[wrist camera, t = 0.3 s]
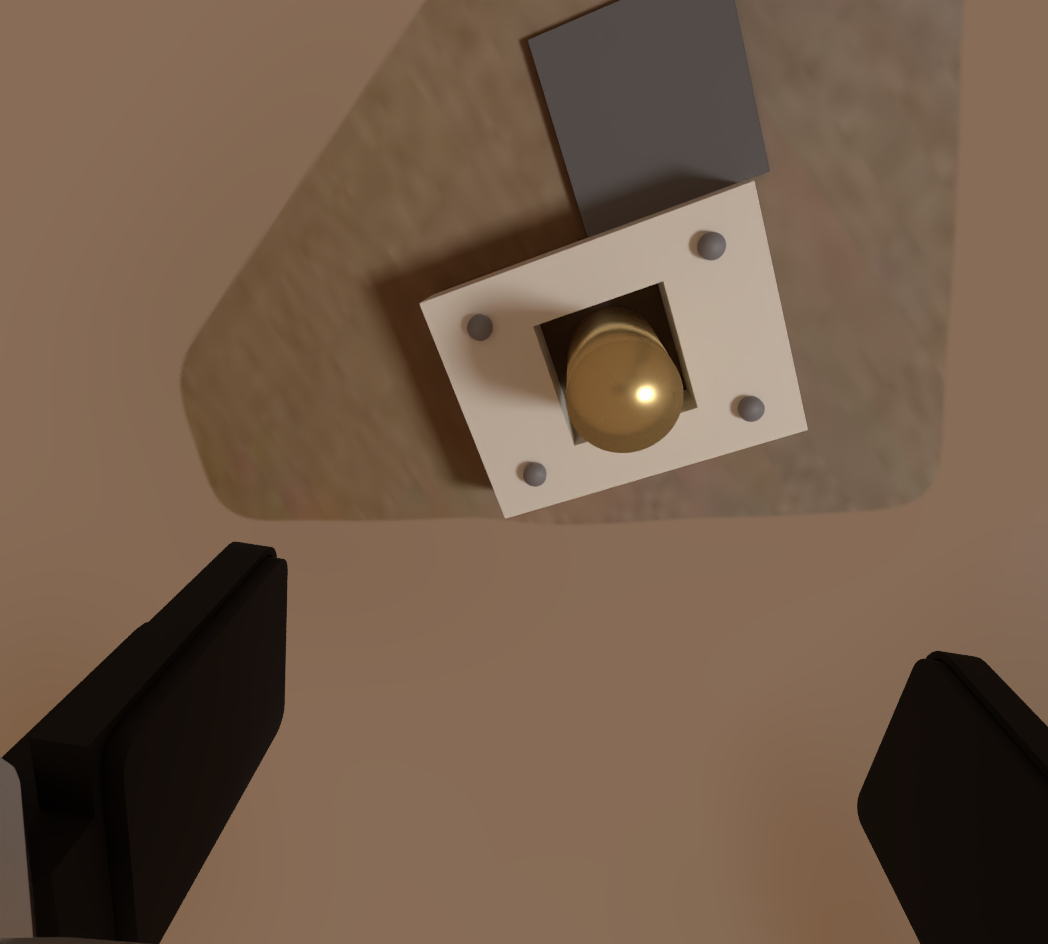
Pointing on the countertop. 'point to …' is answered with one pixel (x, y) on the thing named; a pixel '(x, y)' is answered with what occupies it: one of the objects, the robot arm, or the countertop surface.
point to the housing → (697, 330)
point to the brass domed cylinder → (621, 382)
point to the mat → (650, 106)
